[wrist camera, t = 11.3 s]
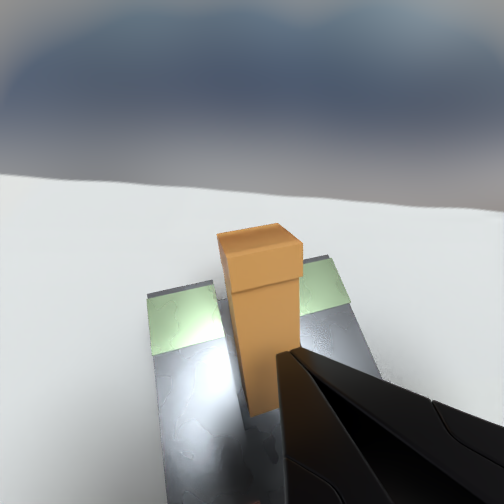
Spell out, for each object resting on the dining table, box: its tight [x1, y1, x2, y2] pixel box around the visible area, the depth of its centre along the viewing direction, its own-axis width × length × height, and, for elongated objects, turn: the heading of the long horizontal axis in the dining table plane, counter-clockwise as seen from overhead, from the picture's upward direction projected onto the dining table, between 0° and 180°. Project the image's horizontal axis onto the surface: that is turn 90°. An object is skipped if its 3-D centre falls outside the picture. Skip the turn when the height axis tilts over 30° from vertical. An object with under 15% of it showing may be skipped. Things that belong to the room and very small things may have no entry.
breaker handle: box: [217, 223, 303, 418], centre depth 10 cm, size 2×2×8 cm
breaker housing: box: [147, 255, 383, 504], centre depth 12 cm, size 11×10×5 cm
